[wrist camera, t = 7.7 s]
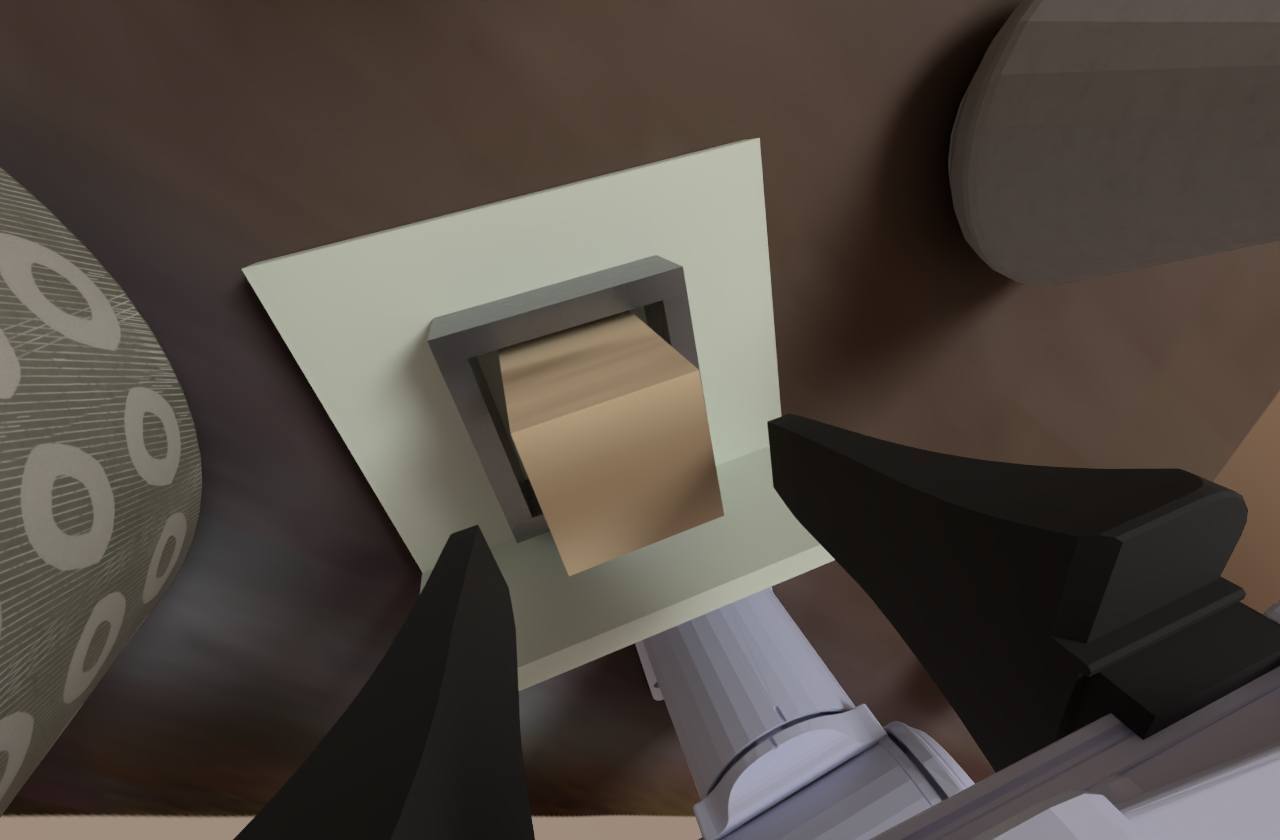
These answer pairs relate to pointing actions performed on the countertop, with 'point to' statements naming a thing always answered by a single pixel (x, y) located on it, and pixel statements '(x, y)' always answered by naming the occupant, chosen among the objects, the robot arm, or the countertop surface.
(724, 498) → the mounting board
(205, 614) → the countertop surface
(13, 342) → the planter
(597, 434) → the oak post
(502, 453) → the grey square frame
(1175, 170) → the coffee pot
